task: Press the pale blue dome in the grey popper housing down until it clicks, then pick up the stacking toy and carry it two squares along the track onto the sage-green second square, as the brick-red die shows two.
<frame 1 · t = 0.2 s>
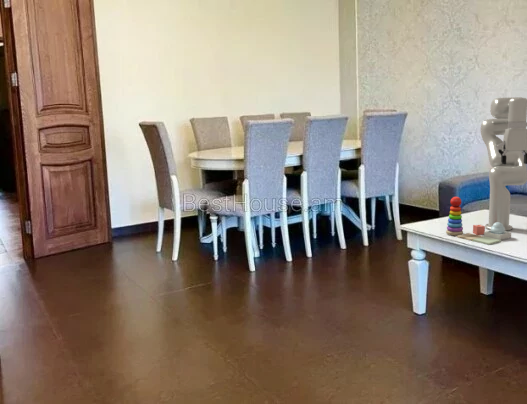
hand: (514, 163, 246), 36 cm above the table, tool pointing down, fingers open, 9 cm apart
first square: (470, 237, 259), on the table
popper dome: (497, 227, 257), point 5 cm above the table, slide at 0.0 cm
die: (478, 233, 266), on the table
second square: (486, 241, 252), on the table
stacking toy: (454, 234, 267), on the table
popper housing: (497, 237, 258), on the table
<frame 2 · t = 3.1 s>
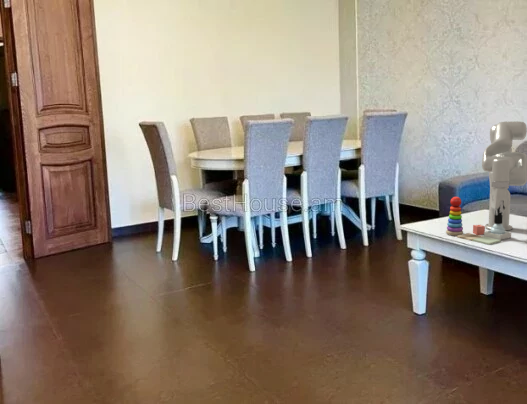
hand: (498, 223, 256), 7 cm above the table, tool pointing down, fingers closed
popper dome: (497, 228, 257), point 4 cm above the table, slide at 0.4 cm, touching gripper
everything else where it was.
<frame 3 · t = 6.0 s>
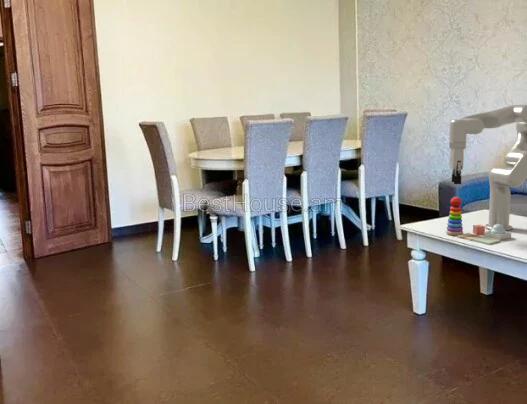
hand: (456, 182, 262), 26 cm above the table, tool pointing down, fingers open, 5 cm apart
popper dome: (497, 229, 257), point 4 cm above the table, slide at 0.9 cm
everything else where it was.
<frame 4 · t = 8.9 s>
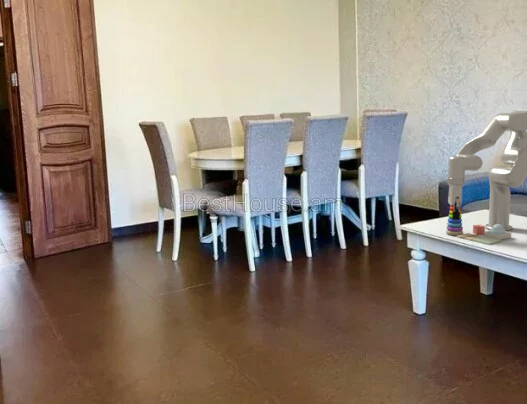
hand: (454, 217, 265), 8 cm above the table, tool pointing down, fingers closed on stacking toy, 6 cm apart
stacking toy: (454, 234, 267), on the table, touching gripper
everything else where it was.
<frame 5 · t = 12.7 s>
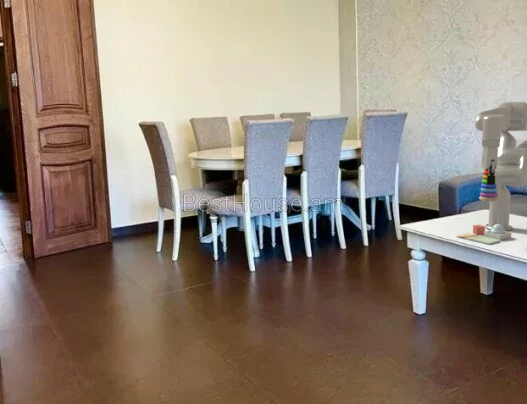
hand: (489, 182, 247), 27 cm above the table, tool pointing down, fingers closed on stacking toy, 5 cm apart
stacking toy: (488, 200, 248), point 19 cm above the table, touching gripper
everything else where it was.
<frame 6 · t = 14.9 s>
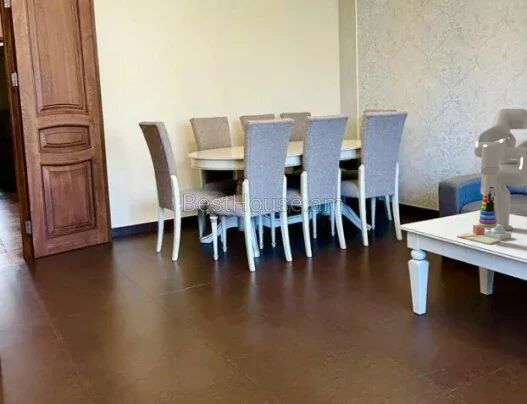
hand: (488, 209, 249), 15 cm above the table, tool pointing down, fingers closed on stacking toy, 5 cm apart
stacking toy: (487, 227, 250), point 7 cm above the table, touching gripper
everything else where it was.
when the fingers open (10 cm above the table, at t = 16.4 s): stacking toy drops 1 cm, resting on second square.
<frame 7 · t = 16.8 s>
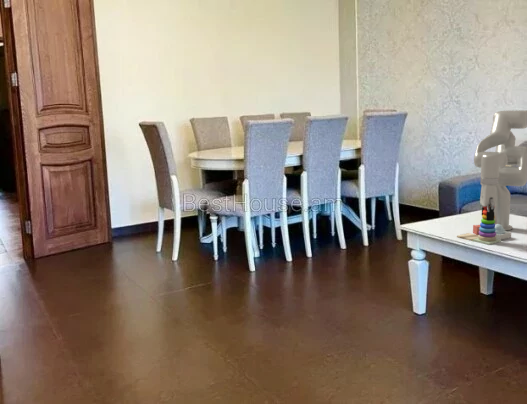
hand: (487, 218, 250), 11 cm above the table, tool pointing down, fingers open, 9 cm apart
stacking toy: (486, 239, 252), point 1 cm above the table, touching second square
everything else where it was.
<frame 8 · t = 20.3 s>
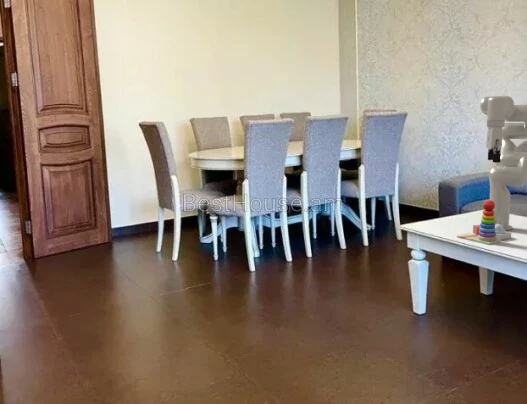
hand: (493, 161, 253), 36 cm above the table, tool pointing down, fingers open, 9 cm apart
nothing on the table moved.
at the end: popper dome slide at 0.9 cm; stacking toy 0.4 cm from the second square (horizontally); stacking toy tilted 0° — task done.
